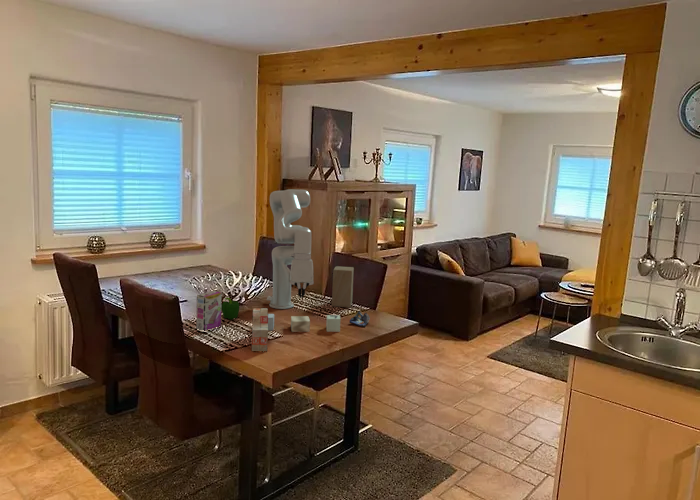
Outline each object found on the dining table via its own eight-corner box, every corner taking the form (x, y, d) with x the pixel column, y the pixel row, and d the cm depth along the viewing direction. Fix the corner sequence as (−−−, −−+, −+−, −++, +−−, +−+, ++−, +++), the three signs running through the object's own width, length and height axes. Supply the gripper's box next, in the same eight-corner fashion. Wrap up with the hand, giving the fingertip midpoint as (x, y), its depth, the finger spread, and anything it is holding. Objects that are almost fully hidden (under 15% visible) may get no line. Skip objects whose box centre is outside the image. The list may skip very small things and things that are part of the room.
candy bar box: (204, 333, 233) (204, 296, 230) (195, 331, 235) (195, 295, 233) (222, 327, 243) (222, 291, 240) (213, 325, 245) (213, 290, 243)
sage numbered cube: (326, 331, 244) (327, 318, 243) (326, 327, 250) (326, 314, 249) (340, 331, 244) (340, 318, 243) (339, 327, 250) (339, 314, 249)
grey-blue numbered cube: (259, 330, 241) (259, 316, 240) (260, 326, 247) (261, 313, 246) (273, 330, 242) (273, 317, 241) (273, 326, 248) (274, 313, 247)
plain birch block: (291, 332, 241) (292, 321, 240) (290, 326, 249) (291, 316, 248) (309, 332, 243) (310, 321, 242) (308, 326, 250) (308, 316, 250)
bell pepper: (243, 317, 259) (243, 297, 258) (232, 321, 252) (232, 300, 250) (228, 314, 263) (229, 294, 261) (218, 318, 255) (218, 298, 254)
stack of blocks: (267, 352, 215) (268, 322, 213) (251, 352, 214) (252, 322, 212) (267, 335, 235) (267, 307, 233) (252, 335, 234) (253, 307, 232)
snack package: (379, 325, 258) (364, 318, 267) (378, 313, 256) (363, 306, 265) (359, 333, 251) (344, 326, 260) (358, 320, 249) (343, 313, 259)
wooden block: (352, 303, 295) (353, 267, 292) (350, 307, 285) (352, 270, 282) (334, 301, 296) (335, 265, 293) (331, 306, 286) (333, 269, 283)
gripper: (285, 257, 236) (284, 298, 239) (319, 258, 237) (318, 299, 240) (285, 255, 243) (285, 294, 246) (319, 255, 245) (317, 295, 247)
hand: (301, 297), depth 243 cm, fingers closed
